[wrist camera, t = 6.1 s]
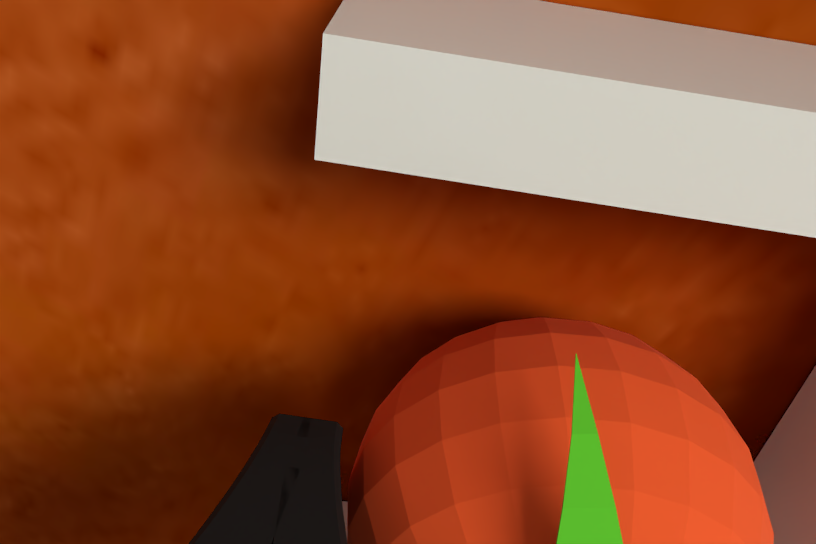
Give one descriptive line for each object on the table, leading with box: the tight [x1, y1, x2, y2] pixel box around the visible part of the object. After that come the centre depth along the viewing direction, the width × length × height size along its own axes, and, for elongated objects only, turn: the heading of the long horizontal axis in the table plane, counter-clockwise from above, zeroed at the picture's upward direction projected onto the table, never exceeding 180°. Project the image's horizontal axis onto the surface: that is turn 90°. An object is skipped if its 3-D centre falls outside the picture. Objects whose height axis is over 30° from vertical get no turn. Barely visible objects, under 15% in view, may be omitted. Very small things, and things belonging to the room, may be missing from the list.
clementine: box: [347, 317, 774, 544], centre depth 11 cm, size 8×7×7 cm
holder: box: [314, 0, 816, 544], centre depth 13 cm, size 14×12×4 cm
